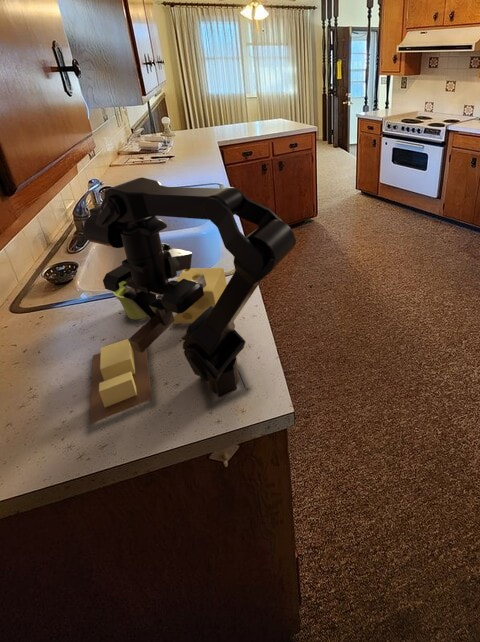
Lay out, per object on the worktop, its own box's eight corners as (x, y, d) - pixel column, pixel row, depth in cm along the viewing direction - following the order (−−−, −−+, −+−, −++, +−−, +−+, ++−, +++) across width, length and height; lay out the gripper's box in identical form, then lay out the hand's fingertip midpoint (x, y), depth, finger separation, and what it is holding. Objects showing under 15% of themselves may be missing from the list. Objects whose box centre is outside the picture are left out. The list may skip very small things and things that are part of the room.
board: (153, 403, 63) (151, 398, 63) (91, 429, 59) (89, 424, 58) (145, 342, 77) (144, 338, 76) (94, 359, 72) (93, 355, 72)
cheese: (173, 327, 81) (165, 292, 77) (190, 298, 91) (184, 265, 87) (218, 327, 81) (213, 292, 77) (230, 298, 91) (225, 265, 87)
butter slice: (136, 395, 63) (131, 379, 62) (104, 407, 61) (98, 391, 59) (136, 386, 65) (131, 371, 63) (104, 399, 63) (99, 382, 61)
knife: (142, 353, 62) (136, 341, 60) (132, 349, 63) (126, 337, 61) (210, 286, 76) (207, 275, 75) (201, 283, 77) (198, 273, 76)
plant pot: (171, 304, 88) (165, 275, 85) (147, 330, 80) (139, 299, 77) (139, 299, 90) (131, 271, 87) (112, 324, 82) (102, 294, 78)
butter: (135, 373, 68) (130, 358, 66) (105, 384, 65) (99, 369, 64) (133, 353, 72) (129, 338, 71) (105, 362, 70) (100, 347, 69)
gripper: (218, 240, 64) (228, 309, 70) (143, 223, 71) (158, 287, 77) (171, 272, 54) (188, 348, 61) (91, 249, 61) (113, 319, 67)
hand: (161, 322), depth 67 cm, fingers closed on knife, 2 cm apart
